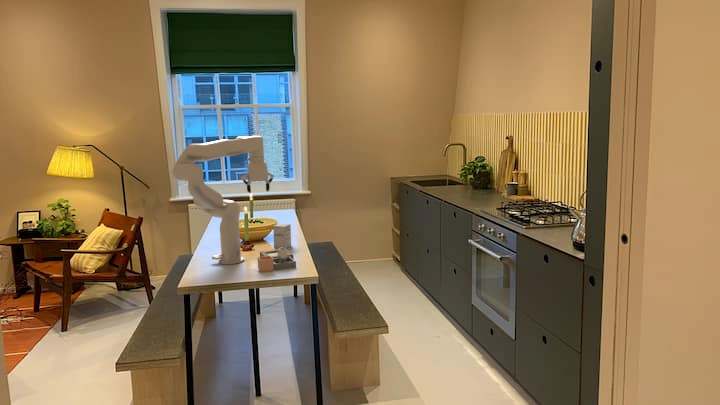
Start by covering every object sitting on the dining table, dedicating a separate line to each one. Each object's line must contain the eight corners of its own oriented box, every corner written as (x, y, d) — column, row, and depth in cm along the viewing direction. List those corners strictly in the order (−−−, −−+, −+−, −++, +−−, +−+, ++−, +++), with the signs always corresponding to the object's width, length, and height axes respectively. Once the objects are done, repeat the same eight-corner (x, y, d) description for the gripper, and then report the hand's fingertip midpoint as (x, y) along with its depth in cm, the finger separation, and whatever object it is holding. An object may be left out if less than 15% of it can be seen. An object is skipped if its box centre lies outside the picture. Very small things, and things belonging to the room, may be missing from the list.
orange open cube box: (261, 272, 255) (260, 260, 254) (257, 269, 260) (257, 257, 259) (274, 270, 257) (273, 258, 256) (270, 267, 263) (270, 255, 262)
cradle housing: (266, 263, 270) (266, 257, 269) (260, 257, 283) (259, 251, 282) (293, 260, 275) (293, 254, 275) (285, 254, 288) (285, 248, 288)
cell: (279, 266, 262) (278, 249, 261) (277, 264, 266) (276, 247, 265) (288, 265, 264) (287, 248, 262) (285, 263, 268) (285, 246, 266)
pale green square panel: (270, 259, 273) (270, 257, 273) (265, 255, 281) (265, 253, 281) (287, 257, 276) (287, 255, 276) (282, 253, 285) (282, 251, 284)
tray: (274, 270, 258) (274, 264, 258) (269, 264, 268) (269, 259, 267) (296, 267, 262) (295, 261, 262) (289, 262, 272) (289, 256, 271)
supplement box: (273, 247, 303) (272, 225, 301) (280, 244, 309) (279, 223, 307) (285, 248, 300) (284, 226, 298) (291, 245, 307) (290, 223, 305)
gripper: (241, 161, 277) (243, 194, 280) (274, 159, 284) (276, 191, 286) (238, 160, 284) (240, 192, 287) (271, 158, 291) (272, 189, 293)
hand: (258, 191), depth 287 cm, fingers open, 9 cm apart
